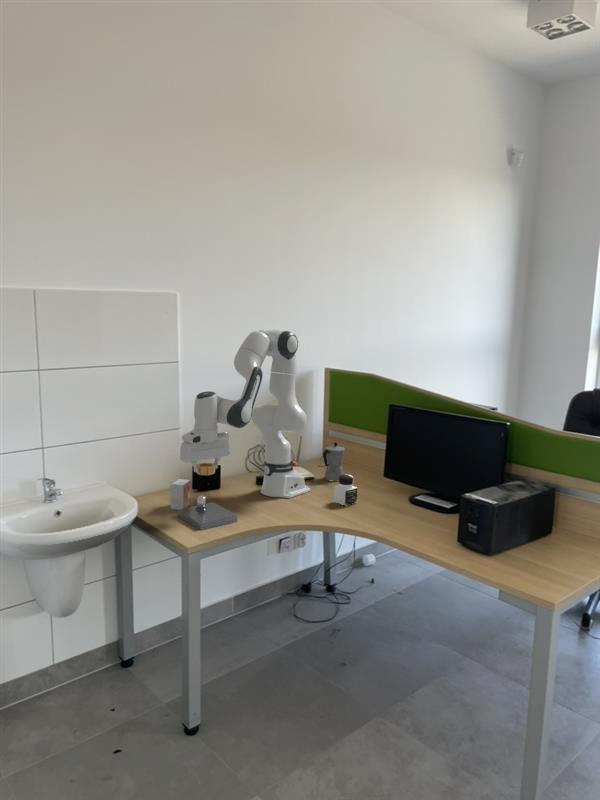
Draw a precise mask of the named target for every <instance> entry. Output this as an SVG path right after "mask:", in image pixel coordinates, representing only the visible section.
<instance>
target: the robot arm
mask: <svg viewBox="0 0 600 800" xmlns="http://www.w3.org/2000/svg"><path fill="white" fill-rule="evenodd" d="M298 347H299V340H298V337H297V335H296V334H295V333H294V332H291V331H288V330H278V329H272V330H271V329H270V330H263V329H261V330H254V331H252V332H250V333H249V334H248V335H247V336H246V338H245V339H244V341H243V342H242V344H241V345H240V347H239V348H238V350H237V352H236V354H235V356H234V358H233V366H234V368H235V371H236V372H237V373H238V374H239V375H240V376H241V377H242V378H244V379H245V385H244V387H243V389H242V393H241V396H240V397H239V399H237V400H234V399H228V398H224V397H221V396H219V395H217V394H216V392H214V391H209V390H208V391H203V392H199V393H198V394H197V395H196V397H195V400H194V403H193V405H194V406H193V407H194V408H193V418H194V426H193V429H192V430H191V431H189V432H187V433H184V434H183V435H182V436H181V440H182V443H181V445H180V450H179V452H180V453H179V457H180V461H182V462H183V463H185V464H187V463H190V464H191V465H192V467H193V472H194V473H197V472H199V467H197V465H198V462H199V461H205V460H211V459H214V462H213V464H215V470H217V469H218V466H219V463H220V462H221V458H224V457H229V456H230V455H231V454H230V453H231V446H230V435H229V433H228V432H225V431H224V432H219V427H218V424H219V423H220V424H223V425H228V426H230V427H234V428H237V429H242V428H244V427H245V426H247V425H248V424H249V423H250V421H251V420H252V423H253V424H254V426H256V427H257V428H258V430H259V432H260V433H261V435H262V439H263V442H264V452H265V453H264V461H263V474H264V475H263V481H262V486H261V489H260V493H261V494H262V495H264V496H266V497H271V498H272V497H273V498H283V499H286V498H287V499H291V498H293V497H297V496H300V495H303V494H305V493H308V492H310V491H311V488H310V487H309V486H307V485H306V483H305V481H306V480H305V477H304V476H303V475H302V474H300V473H299V472H298V471H296V470H295V469H294V467H295V468H296V467H298V465H299V464H298V462H296V461H291V451H292V449H291V448H292V447H291V446H292V445H291V443H290V441H289V440H287V439H286V438H285V437H284V435H283V433H282V432H284V433H300V432H302V431H303V430H305V427H306V426H307V423H308V418H307V414H306V412H305V411H304V410H303V408H302V407H300V405H299V402H298V399H297V396H296V379H297V378H296V377H297V354H296V353H297V351H298ZM266 357H271V358H272V362H271V367H270V377H269V385H268V386H269V387H268V390H269V391H270V393H271V394H272V395H273V396H274V397H275V398H276V400H277V403H278V404H271V403H263V404H258V405H256V406H255V407H254V405H255V402H256V400H257V396H258V394H259V390H260V388H261V385H262V380H263V370H262V365H263V363H264V361H265V358H266Z"/></svg>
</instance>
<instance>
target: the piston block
mask: <svg viewBox="0 0 600 800" xmlns="http://www.w3.org/2000/svg"><path fill="white" fill-rule="evenodd" d="M206 498H207V497H206V496H205V495H202V494H201V495H197V497H196V505H193V506H188V507H187V508H183V509H178V510H176V513H177V514H176V516H177V517H179V518H180V519H182V520H183V521H185V522H186V523H188V524H190V525H191V526H193V527H195V528H196V529H197V530H200V531H203V530H207V529H212V528H215V527H220V526H223V525H229V524H232V523H237V522H238V517H239V515H238V514H236V513H234V512H233V511H230V509H229V510H228V509H226V508H225V507H223V506H221V505H219V504H218V503H215V502H214V501H213V502H208V503H206Z"/></svg>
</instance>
